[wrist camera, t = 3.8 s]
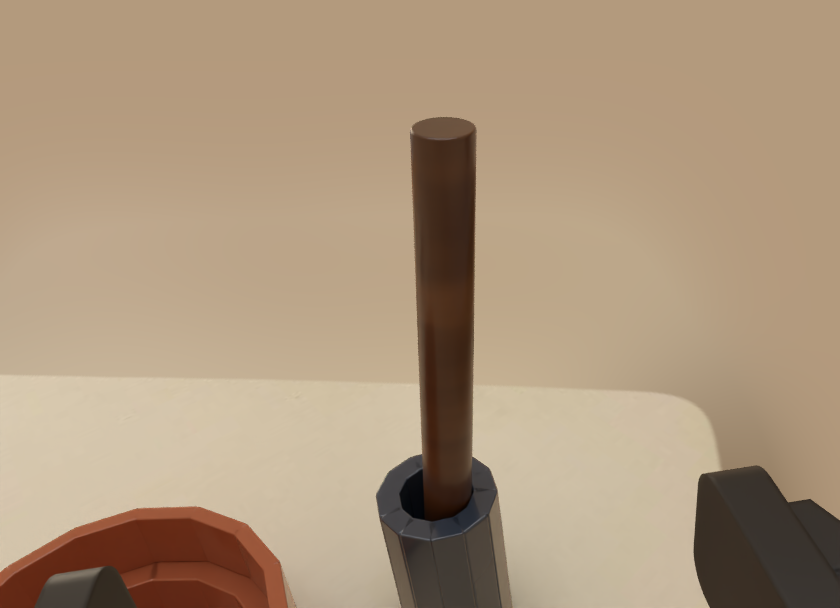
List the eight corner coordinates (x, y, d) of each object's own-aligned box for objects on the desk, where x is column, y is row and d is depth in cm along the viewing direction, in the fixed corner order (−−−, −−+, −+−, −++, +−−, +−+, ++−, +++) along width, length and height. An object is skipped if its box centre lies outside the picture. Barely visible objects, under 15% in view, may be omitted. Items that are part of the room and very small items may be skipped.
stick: (479, 612, 28) (490, 126, 18) (448, 639, 27) (442, 143, 17) (449, 585, 29) (444, 111, 19) (419, 611, 28) (396, 127, 18)
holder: (535, 622, 28) (520, 489, 24) (455, 694, 26) (428, 561, 22) (463, 562, 31) (442, 434, 27) (387, 623, 29) (353, 494, 25)
